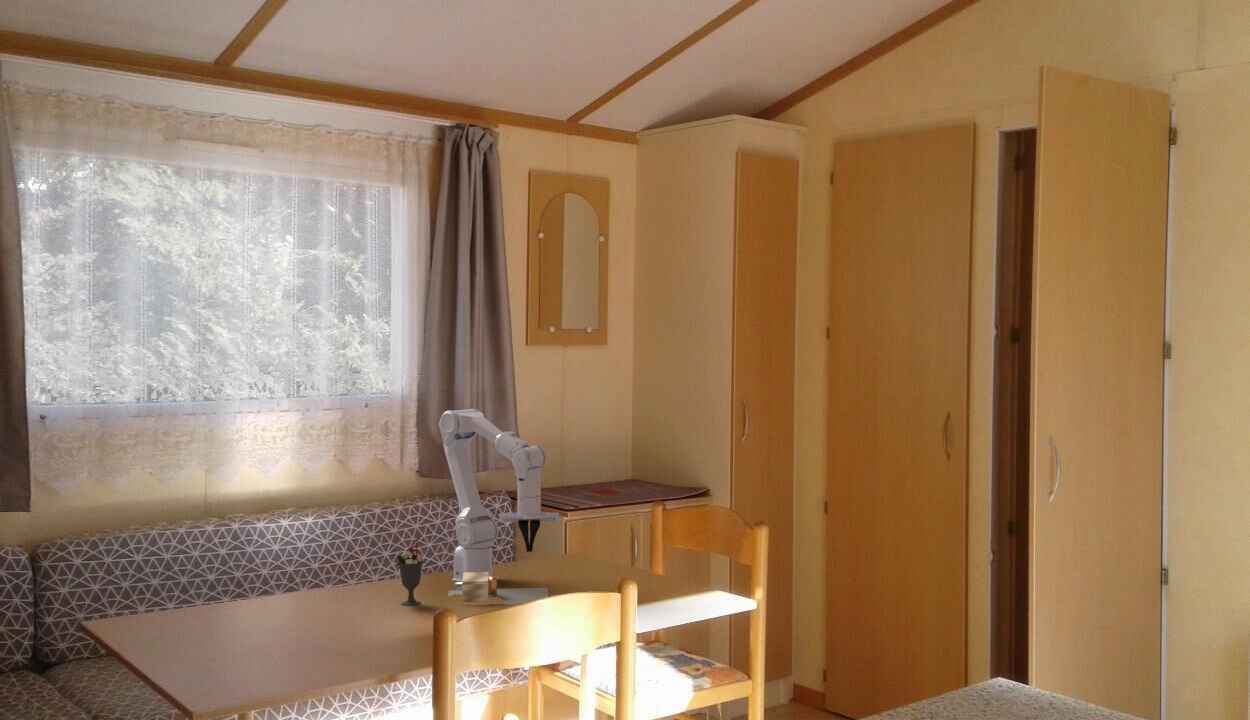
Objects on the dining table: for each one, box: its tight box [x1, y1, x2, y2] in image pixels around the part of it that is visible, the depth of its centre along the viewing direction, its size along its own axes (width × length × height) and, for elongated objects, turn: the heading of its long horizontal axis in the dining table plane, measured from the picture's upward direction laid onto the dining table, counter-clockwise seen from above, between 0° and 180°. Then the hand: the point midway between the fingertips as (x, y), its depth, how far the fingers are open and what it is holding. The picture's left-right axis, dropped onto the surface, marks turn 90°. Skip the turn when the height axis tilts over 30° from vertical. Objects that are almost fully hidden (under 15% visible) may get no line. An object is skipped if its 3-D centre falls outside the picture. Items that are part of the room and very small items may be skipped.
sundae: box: [395, 539, 426, 607], centre depth 264 cm, size 7×7×15 cm
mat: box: [445, 587, 549, 608], centre depth 270 cm, size 24×16×1 cm, turn 96°
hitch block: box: [462, 572, 489, 602], centre depth 269 cm, size 6×10×5 cm, turn 6°
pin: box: [453, 575, 498, 595], centre depth 269 cm, size 10×4×4 cm, turn 96°
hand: (529, 551), depth 276 cm, fingers closed
